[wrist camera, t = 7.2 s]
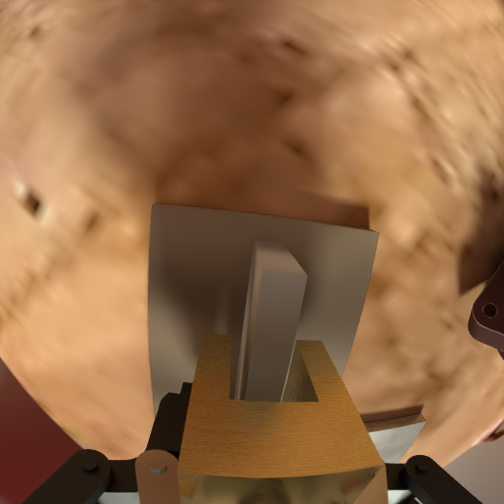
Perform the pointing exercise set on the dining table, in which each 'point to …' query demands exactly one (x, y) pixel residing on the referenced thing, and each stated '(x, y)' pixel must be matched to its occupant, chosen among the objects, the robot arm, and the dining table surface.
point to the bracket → (490, 313)
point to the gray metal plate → (395, 436)
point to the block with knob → (273, 436)
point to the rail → (251, 293)
